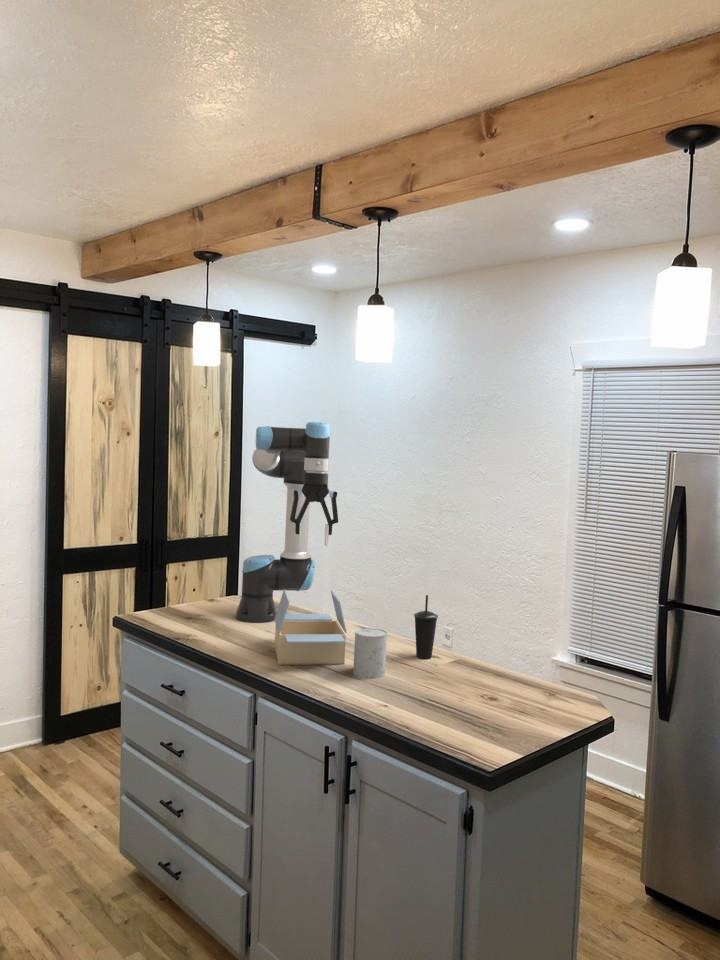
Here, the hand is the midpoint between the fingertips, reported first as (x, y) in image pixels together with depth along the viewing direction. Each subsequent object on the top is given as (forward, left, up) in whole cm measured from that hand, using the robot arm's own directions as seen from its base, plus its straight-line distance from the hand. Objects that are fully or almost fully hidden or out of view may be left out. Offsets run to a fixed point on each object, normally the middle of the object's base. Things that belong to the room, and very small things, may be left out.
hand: (313, 545), depth 238 cm
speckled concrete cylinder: (+18, +16, -35) cm, 43 cm away
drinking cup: (+2, +37, -35) cm, 51 cm away
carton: (0, 0, -35) cm, 35 cm away
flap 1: (0, -9, -21) cm, 23 cm away
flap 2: (0, +9, -21) cm, 23 cm away
